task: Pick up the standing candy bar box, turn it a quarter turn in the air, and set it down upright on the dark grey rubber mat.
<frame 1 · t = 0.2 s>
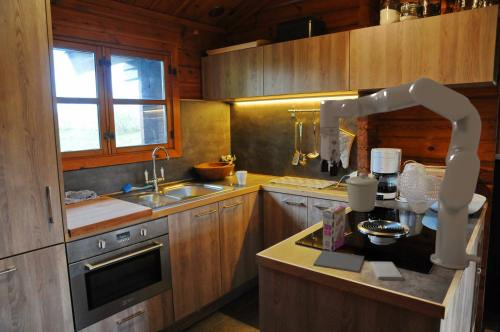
hand: (328, 174, 147), 30 cm above the countertop, tool pointing down, fingers open, 9 cm apart
hard drive: (385, 273, 127), on the countertop
candy bar box: (334, 247, 151), on the countertop
heart: (417, 214, 195), on the countertop
mat: (339, 261, 136), on the countertop
canister: (361, 210, 205), on the countertop
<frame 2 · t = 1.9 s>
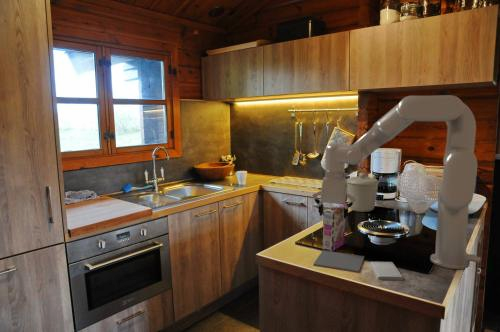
hand: (333, 216, 149), 13 cm above the countertop, tool pointing down, fingers open, 9 cm apart
nothing on the countertop moved.
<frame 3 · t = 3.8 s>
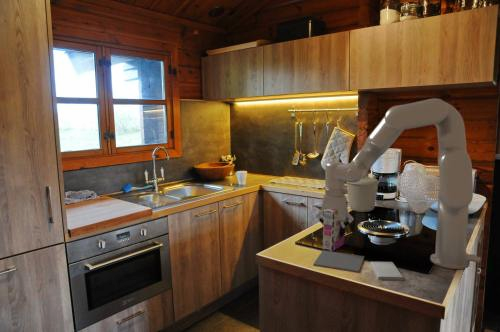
hand: (334, 235, 150), 5 cm above the countertop, tool pointing down, fingers closed on candy bar box, 5 cm apart
candy bar box: (334, 247, 151), on the countertop, touching gripper
everything else where it was.
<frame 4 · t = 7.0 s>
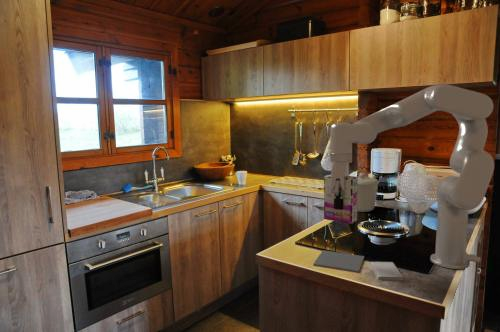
hand: (340, 206, 133), 21 cm above the countertop, tool pointing down, fingers closed on candy bar box, 5 cm apart
candy bar box: (340, 220, 134), point 16 cm above the countertop, touching gripper
everything else where it was.
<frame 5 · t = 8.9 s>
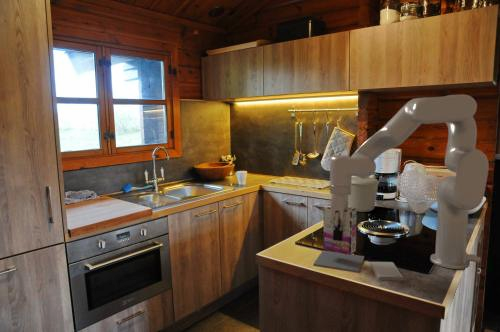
hand: (339, 237, 135), 9 cm above the countertop, tool pointing down, fingers closed on candy bar box, 5 cm apart
candy bar box: (339, 250, 136), point 4 cm above the countertop, touching gripper
everything else where it was.
when the fingers open (7 cm above the countertop, at t = 10.4 s): candy bar box stays where it is, resting on mat.
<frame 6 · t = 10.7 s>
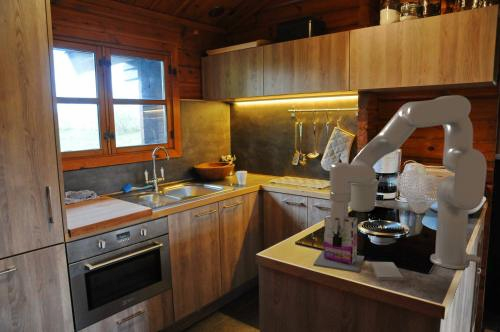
hand: (339, 242, 135), 7 cm above the countertop, tool pointing down, fingers open, 8 cm apart
candy bar box: (340, 260, 136), resting on mat
everything else where it was.
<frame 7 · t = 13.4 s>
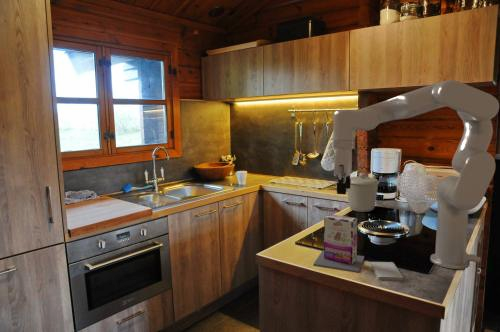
hand: (343, 191, 134), 26 cm above the countertop, tool pointing down, fingers open, 9 cm apart
nothing on the countertop moved.
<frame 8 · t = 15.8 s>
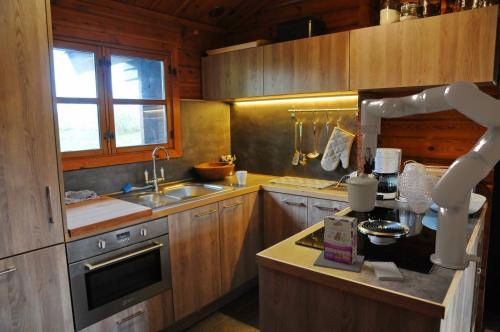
hand: (369, 172, 150), 30 cm above the countertop, tool pointing down, fingers open, 9 cm apart
nothing on the countertop moved.
at the end: candy bar box inside the target area (0.3 cm from its centre), resting on mat; candy bar box tilted 0°; candy bar box touching mat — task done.
